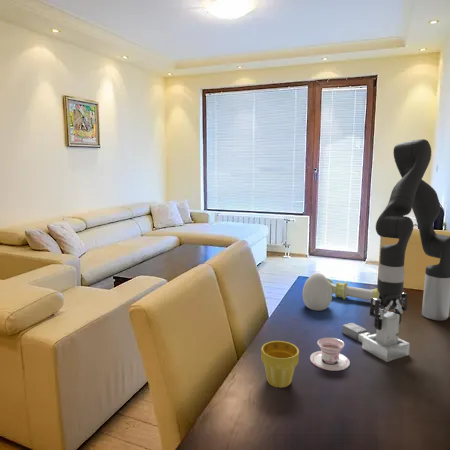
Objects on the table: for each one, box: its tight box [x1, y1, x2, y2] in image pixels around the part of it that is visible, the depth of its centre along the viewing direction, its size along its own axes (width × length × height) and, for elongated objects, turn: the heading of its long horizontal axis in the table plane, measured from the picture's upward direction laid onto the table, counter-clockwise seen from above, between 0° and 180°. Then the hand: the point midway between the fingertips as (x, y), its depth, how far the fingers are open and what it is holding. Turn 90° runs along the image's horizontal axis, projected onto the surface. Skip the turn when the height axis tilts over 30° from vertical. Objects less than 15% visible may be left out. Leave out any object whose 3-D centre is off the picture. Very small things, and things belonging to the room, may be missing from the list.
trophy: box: [326, 277, 380, 301], centre depth 175 cm, size 8×8×30 cm
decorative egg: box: [302, 272, 333, 311], centre depth 164 cm, size 12×12×15 cm
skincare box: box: [375, 310, 400, 347], centre depth 125 cm, size 6×4×12 cm
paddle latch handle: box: [341, 322, 411, 363], centre depth 131 cm, size 10×22×4 cm, turn 27°
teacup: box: [309, 337, 351, 372], centre depth 120 cm, size 12×12×6 cm
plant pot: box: [260, 340, 300, 389], centre depth 108 cm, size 10×10×10 cm
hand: (387, 326), depth 125 cm, fingers open, 8 cm apart
